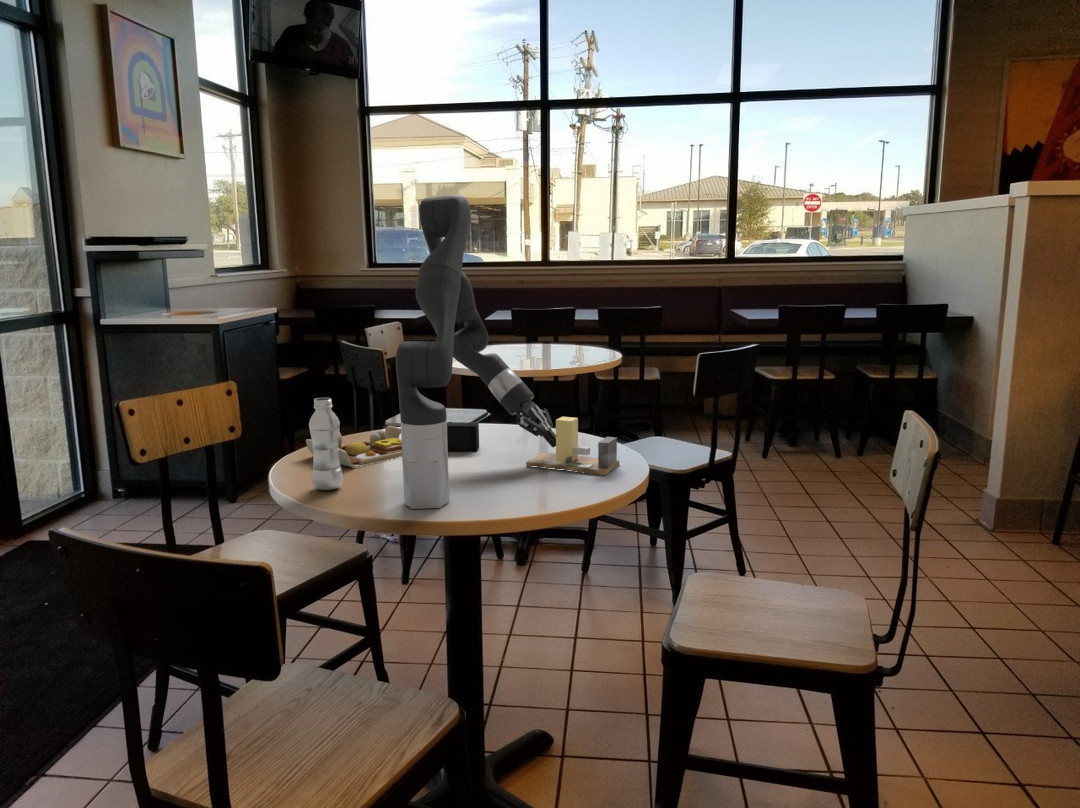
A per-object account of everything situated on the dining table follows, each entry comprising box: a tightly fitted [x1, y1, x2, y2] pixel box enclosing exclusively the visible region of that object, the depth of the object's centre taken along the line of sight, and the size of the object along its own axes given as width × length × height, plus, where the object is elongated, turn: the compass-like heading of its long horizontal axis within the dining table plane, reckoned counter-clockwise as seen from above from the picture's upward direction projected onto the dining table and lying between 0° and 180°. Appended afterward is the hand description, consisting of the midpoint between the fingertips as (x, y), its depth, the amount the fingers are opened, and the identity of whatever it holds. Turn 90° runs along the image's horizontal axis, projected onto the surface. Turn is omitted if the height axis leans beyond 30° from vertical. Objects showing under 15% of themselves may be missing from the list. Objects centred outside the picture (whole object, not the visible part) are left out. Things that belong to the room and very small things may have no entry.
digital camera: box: [447, 421, 480, 453], centre depth 206 cm, size 10×5×7 cm, turn 85°
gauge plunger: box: [555, 416, 591, 463], centre depth 187 cm, size 8×6×10 cm
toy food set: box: [305, 425, 402, 469], centre depth 201 cm, size 25×18×8 cm
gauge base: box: [525, 436, 620, 476], centre depth 188 cm, size 20×10×7 cm, turn 65°
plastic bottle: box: [308, 397, 344, 491], centre depth 171 cm, size 6×7×20 cm
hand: (557, 444), depth 190 cm, fingers closed
